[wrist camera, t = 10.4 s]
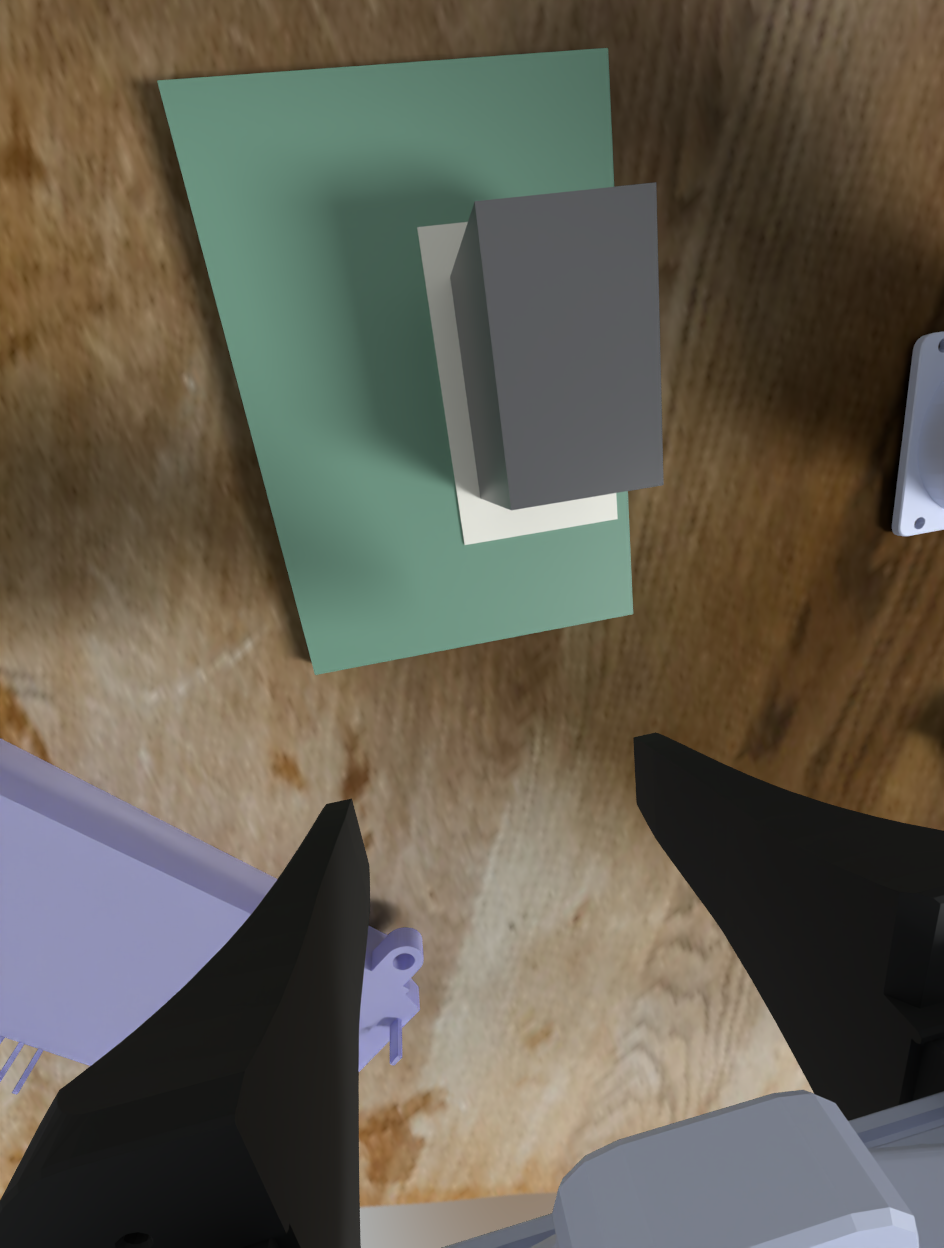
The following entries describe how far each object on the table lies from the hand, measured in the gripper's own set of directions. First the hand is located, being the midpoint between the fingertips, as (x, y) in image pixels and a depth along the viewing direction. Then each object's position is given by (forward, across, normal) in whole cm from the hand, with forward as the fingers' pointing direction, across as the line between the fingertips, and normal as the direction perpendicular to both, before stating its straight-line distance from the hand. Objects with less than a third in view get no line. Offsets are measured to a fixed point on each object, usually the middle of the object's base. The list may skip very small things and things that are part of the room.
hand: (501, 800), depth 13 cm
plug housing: (+8, -4, -10) cm, 14 cm away
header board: (+9, -1, -10) cm, 14 cm away
